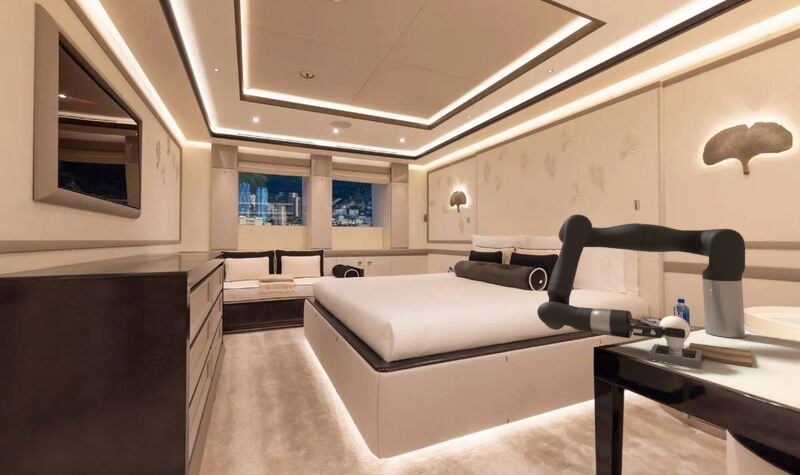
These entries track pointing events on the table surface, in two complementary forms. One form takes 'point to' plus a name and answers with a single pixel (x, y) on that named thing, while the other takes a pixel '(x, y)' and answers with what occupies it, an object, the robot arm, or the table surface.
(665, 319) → the lightbulb
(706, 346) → the coaster
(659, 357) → the tray
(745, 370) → the table surface
